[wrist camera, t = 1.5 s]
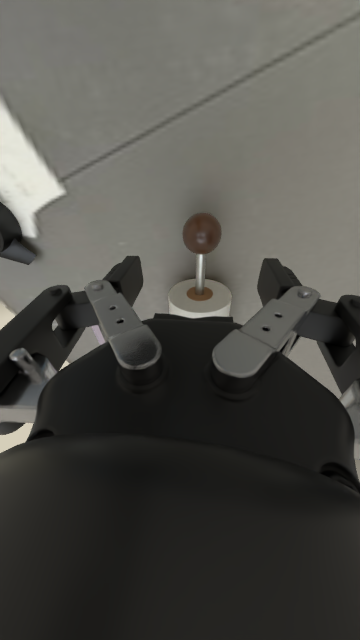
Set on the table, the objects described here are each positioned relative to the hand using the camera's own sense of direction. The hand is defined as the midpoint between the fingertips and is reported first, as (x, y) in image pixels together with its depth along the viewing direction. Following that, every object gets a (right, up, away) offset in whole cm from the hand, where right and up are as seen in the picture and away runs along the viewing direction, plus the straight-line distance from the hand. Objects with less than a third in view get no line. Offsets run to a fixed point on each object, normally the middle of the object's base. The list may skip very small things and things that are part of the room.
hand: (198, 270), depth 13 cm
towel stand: (+1, -1, +14) cm, 14 cm away
